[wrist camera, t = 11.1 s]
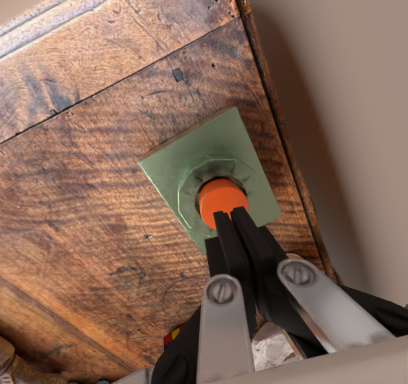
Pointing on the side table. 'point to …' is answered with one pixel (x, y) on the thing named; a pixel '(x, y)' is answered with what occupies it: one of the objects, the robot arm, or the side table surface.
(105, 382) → the toy car
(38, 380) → the figurine
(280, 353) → the fossil
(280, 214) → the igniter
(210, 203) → the button
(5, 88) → the side table surface
